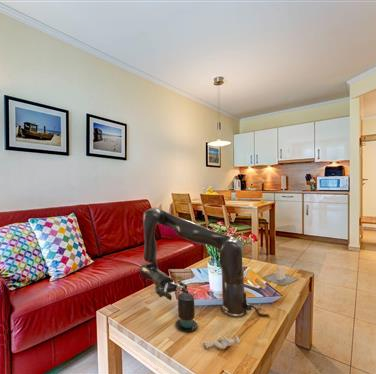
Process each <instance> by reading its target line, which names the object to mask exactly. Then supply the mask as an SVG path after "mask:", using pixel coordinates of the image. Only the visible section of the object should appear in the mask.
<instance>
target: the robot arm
mask: <svg viewBox="0 0 376 374" xmlns="http://www.w3.org/2000/svg"><path fill="white" fill-rule="evenodd" d="M142 225H143V236H144V248H143V260H144V261H145V262H147V263H144V264H143V263H142V264H141V265H140V266H139V274H140V277H142V278H144V279H145V280H148V281H151V282H152V283H153V284H154V286H155V288H154V289H155V294H157V296H158V297H159V298H162V297H164V298H165V299H167V300H169V301H172V294H171V293H173V292H174V293H189V292H190V291H189V290H188V285H187V284H186V283H184V282H183V281H182V280H179V281H178V282H174V281H173V279H172V278H171V277H170V276H169V275H168V274H166V273H165V272H163V271H161V270H160V269H159V266H158V261H157V255H158V254H157V253H158V245H157V240H156V236H155V231H156V226H157V225H162V226H164V227H167V228H169V229H171V230H172V231H173V232H174V233H175V234H176V235H177V236H178V237H180V238H182V239H184V240H187V241H188V242H191V243H194V244H200V245H206V246H210V247H214V248H216V249H217V250H219V259H220V260H219V262H220V269H221V285H222V286H221V289H222V293H221V294H222V305H221V306H222V312H223V313H224V314H226V315H228V316H230V317H237V318H238V317H239V318H241V317H243V316H244V315H247V311H249V312H251V311H252V308H253V309H254V310H255V313H256V314H257V315H258V316H260V317H269V316H270V314H269V313H260V312H259V310H258V309H257V307H255V306H254V305H252V304H251V303H250V302H249V301H248V300H247V293H246V291H245V272H244V268H243V254H244V252H245V246H244V243H243V241H241V240H240V239H239V238H237V237H235V236H231V235H227V234H223V233H219V232H217V231H214V230H212V229H210V228H208V227H205V226H203V225H200V224H198V223H195V222H192V221H190V220H187V219H185V218H182V217H179V216H176V215H174V214H172V213H169V212H168V211H165V210H164V209H162V208H159V207H152V208H149V209H147V210H145V211H144V212H143V215H142ZM189 294H190V293H189Z"/></svg>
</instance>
